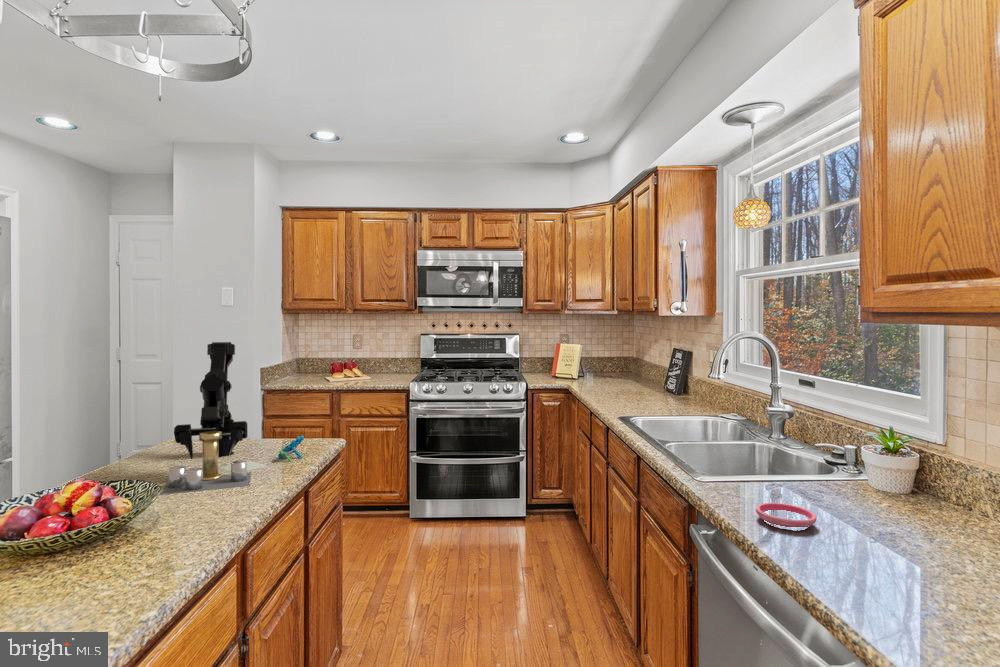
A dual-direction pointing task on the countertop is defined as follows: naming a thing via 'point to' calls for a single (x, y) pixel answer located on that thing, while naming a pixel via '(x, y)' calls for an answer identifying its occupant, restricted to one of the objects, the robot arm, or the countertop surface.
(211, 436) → the brass post
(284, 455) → the blue and green figurine
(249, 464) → the pad
